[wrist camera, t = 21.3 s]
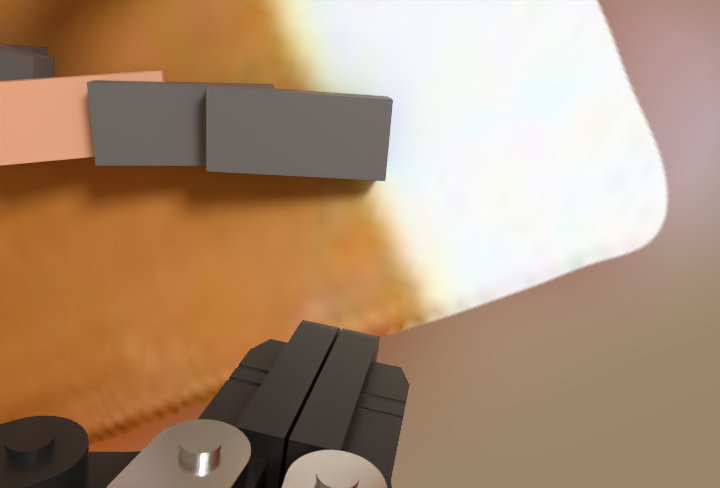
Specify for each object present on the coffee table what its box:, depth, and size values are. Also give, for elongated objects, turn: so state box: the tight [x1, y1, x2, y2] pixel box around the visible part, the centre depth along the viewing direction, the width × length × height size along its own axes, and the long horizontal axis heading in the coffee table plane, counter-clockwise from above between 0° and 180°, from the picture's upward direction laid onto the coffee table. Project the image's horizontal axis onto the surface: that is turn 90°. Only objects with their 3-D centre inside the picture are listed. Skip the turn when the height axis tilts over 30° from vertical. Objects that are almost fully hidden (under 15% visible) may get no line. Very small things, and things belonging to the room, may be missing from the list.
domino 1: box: [206, 84, 393, 181], centre depth 38 cm, size 2×5×11 cm
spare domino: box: [0, 70, 166, 165], centre depth 39 cm, size 2×5×11 cm
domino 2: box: [87, 80, 274, 166], centre depth 38 cm, size 2×5×11 cm
